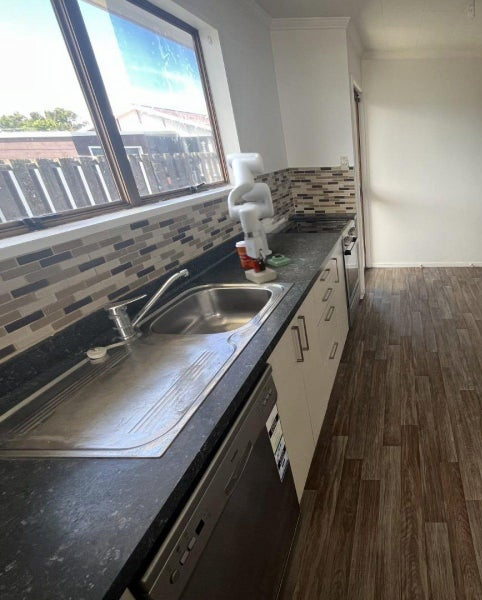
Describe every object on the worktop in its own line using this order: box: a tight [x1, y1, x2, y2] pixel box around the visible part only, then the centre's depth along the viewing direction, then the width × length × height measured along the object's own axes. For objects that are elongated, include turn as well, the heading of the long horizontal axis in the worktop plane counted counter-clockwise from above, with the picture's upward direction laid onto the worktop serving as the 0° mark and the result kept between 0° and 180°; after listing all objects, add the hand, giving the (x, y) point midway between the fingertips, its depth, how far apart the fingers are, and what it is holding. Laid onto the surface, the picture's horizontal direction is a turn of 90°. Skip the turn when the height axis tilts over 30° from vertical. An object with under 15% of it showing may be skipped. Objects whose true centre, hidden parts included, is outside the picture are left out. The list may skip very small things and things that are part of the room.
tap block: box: [244, 267, 278, 285], centre depth 167 cm, size 12×10×4 cm
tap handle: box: [252, 258, 262, 273], centre depth 165 cm, size 6×2×6 cm, turn 141°
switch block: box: [266, 254, 292, 268], centre depth 188 cm, size 10×9×4 cm
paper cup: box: [235, 240, 253, 269], centre depth 182 cm, size 8×8×14 cm
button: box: [274, 253, 282, 258], centre depth 187 cm, size 4×4×2 cm
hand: (259, 268), depth 166 cm, fingers open, 5 cm apart
